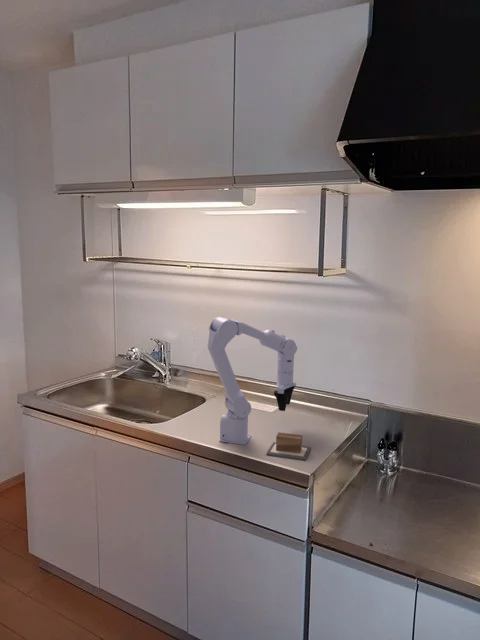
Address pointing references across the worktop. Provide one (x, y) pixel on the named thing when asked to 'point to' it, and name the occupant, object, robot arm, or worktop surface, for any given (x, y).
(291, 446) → the block
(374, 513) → the worktop surface
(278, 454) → the mat
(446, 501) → the worktop surface
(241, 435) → the robot arm
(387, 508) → the worktop surface
